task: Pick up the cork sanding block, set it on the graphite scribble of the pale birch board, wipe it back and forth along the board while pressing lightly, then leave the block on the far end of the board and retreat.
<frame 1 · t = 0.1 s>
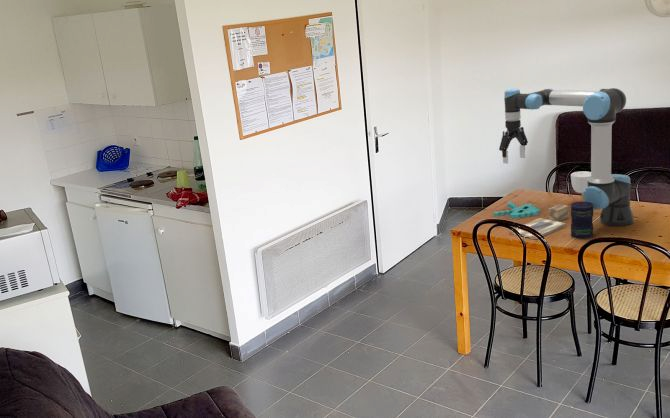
hand: (514, 160, 342), 28 cm above the table, fingers open, 13 cm apart
cup: (582, 205, 348), on the table
board: (537, 230, 319), on the table
sanding block: (558, 219, 331), on the table
alien figure: (519, 213, 348), on the table
storage jar: (581, 235, 306), on the table
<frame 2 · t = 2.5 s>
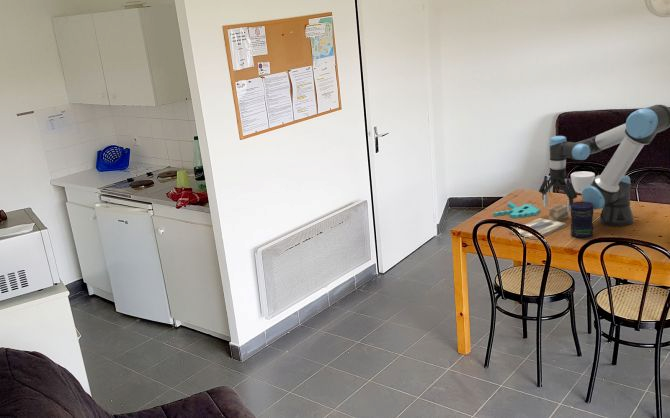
hand: (557, 208, 330), 5 cm above the table, fingers open, 13 cm apart
nothing on the table moved.
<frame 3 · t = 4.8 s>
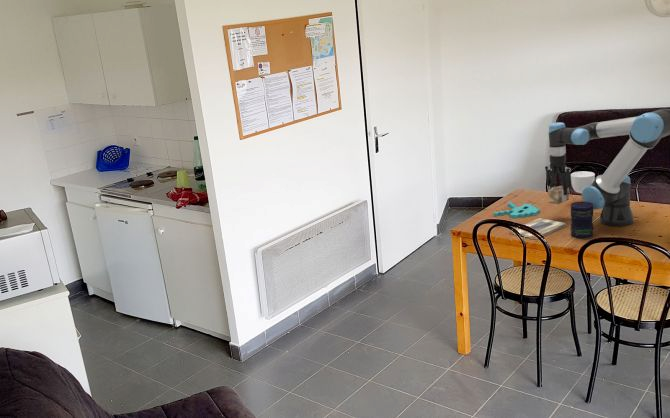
hand: (559, 200, 328), 10 cm above the table, fingers closed on sanding block, 5 cm apart
sanding block: (559, 201, 328), point 10 cm above the table, touching gripper
everything else where it was.
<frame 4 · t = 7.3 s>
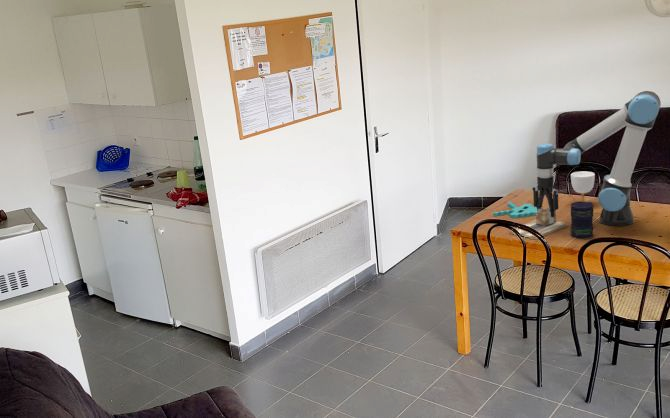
hand: (546, 222, 322), 2 cm above the table, fingers closed on sanding block, 5 cm apart
sanding block: (546, 222, 322), point 2 cm above the table, touching gripper
everything else where it was.
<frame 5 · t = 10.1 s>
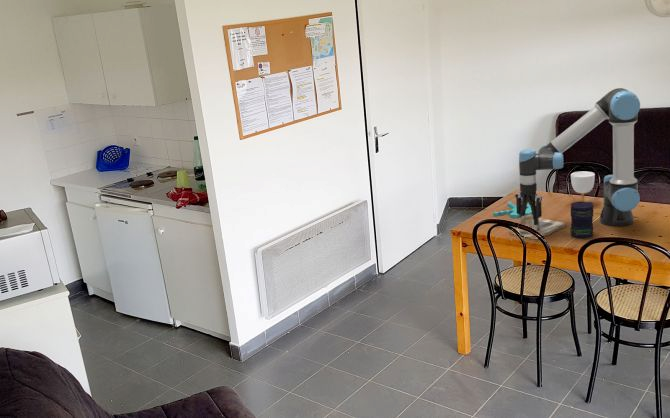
hand: (529, 229, 314), 2 cm above the table, fingers closed on sanding block, 5 cm apart
sanding block: (529, 230, 315), point 2 cm above the table, touching gripper
everything else where it was.
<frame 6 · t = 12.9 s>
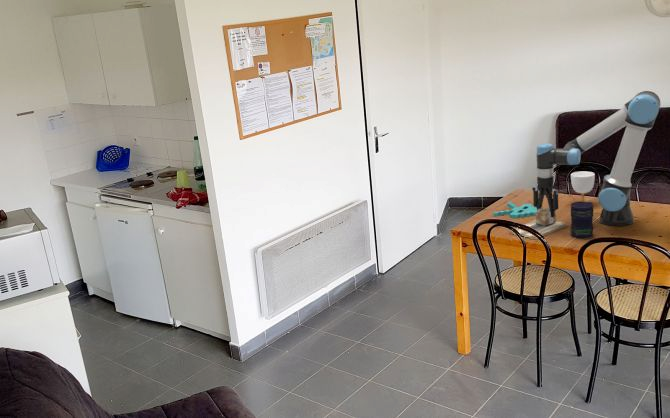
hand: (546, 222, 322), 2 cm above the table, fingers closed on sanding block, 5 cm apart
sanding block: (545, 222, 322), point 2 cm above the table, touching gripper
everything else where it was.
when the fingers open (3 cm above the table, at t = 15.6 s): sanding block stays where it is, resting on board.
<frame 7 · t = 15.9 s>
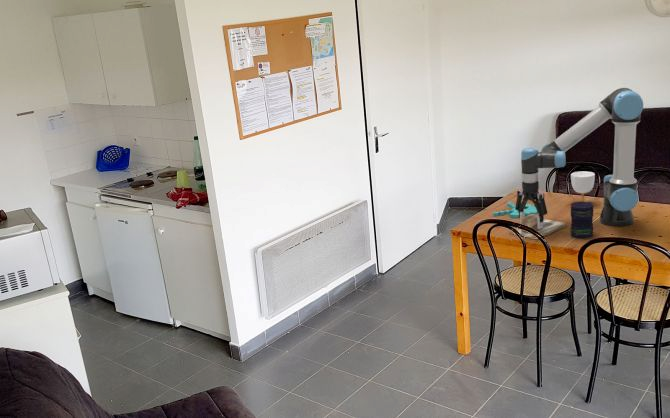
hand: (531, 226, 315), 3 cm above the table, fingers open, 9 cm apart
sanding block: (531, 229, 316), point 2 cm above the table, touching board
everything else where it was.
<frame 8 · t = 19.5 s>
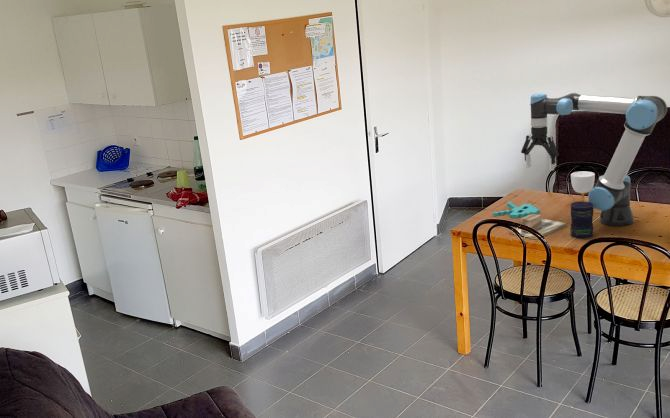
hand: (540, 168, 325), 27 cm above the table, fingers open, 13 cm apart
nothing on the table moved.
at the end: sanding block inside the target area on the board (5.1 cm from its centre), point 1.6 cm above the board's base; sanding block tilted 0°; the gripper is holding nothing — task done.
